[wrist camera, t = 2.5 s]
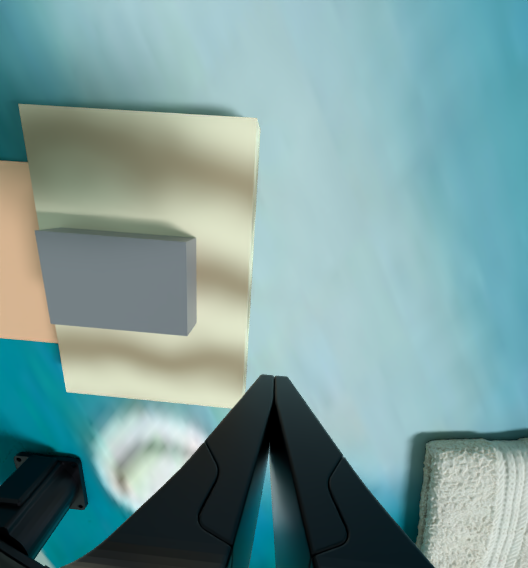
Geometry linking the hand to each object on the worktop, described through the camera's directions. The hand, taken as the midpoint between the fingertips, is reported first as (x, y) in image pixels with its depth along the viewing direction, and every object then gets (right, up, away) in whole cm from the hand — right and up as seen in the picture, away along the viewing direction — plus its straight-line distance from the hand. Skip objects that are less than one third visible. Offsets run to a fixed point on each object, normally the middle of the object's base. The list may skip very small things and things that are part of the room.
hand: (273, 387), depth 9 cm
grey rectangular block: (-9, +4, +10) cm, 14 cm away
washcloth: (+20, -18, +18) cm, 33 cm away
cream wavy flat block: (-8, +4, +12) cm, 16 cm away
